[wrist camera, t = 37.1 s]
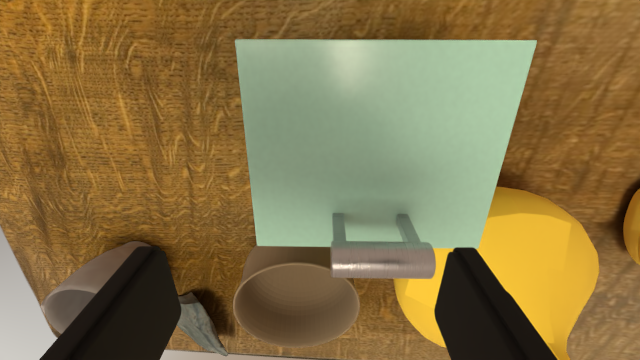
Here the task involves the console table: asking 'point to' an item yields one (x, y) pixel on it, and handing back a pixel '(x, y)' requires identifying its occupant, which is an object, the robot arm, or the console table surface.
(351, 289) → the bowl
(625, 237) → the teapot
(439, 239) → the lid
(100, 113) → the console table surface
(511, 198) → the vase
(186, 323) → the stone
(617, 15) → the console table surface
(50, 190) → the console table surface
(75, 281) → the mug
